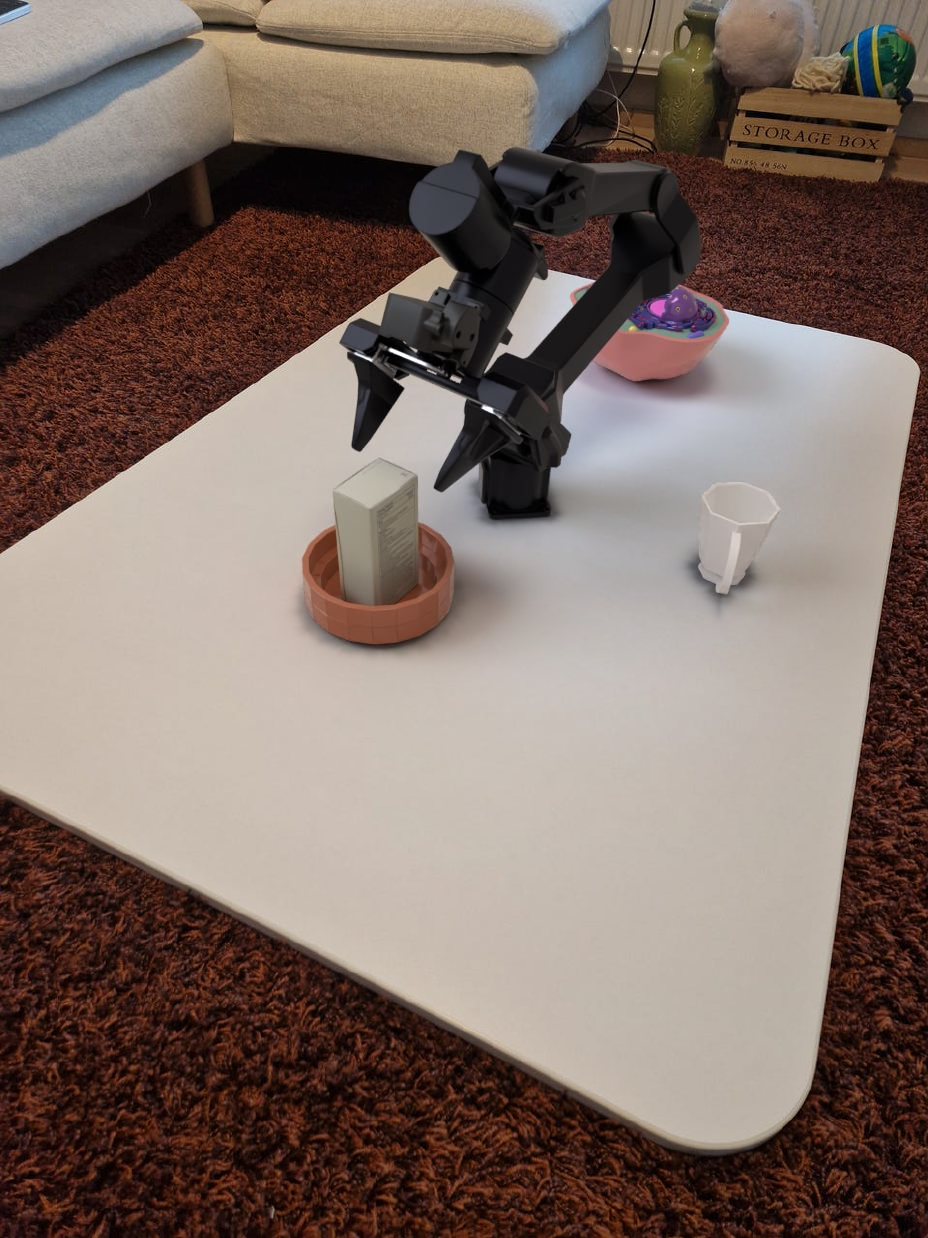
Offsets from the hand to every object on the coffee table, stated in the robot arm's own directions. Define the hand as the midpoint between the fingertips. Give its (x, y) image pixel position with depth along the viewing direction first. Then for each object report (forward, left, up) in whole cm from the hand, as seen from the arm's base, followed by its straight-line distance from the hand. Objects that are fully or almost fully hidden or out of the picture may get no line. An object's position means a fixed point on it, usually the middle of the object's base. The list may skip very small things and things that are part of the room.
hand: (395, 469), depth 76 cm
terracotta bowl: (+2, +2, -13) cm, 13 cm away
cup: (-30, +3, -13) cm, 33 cm away
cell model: (-34, -39, -13) cm, 54 cm away
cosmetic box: (+2, +2, -12) cm, 12 cm away
